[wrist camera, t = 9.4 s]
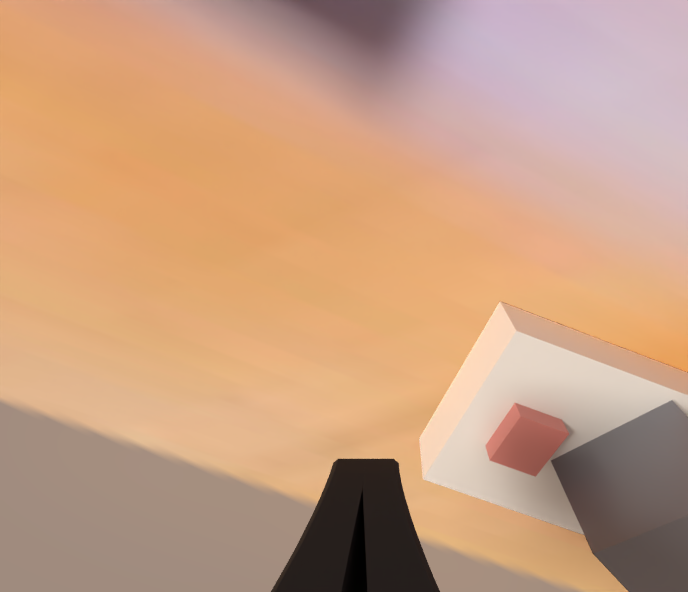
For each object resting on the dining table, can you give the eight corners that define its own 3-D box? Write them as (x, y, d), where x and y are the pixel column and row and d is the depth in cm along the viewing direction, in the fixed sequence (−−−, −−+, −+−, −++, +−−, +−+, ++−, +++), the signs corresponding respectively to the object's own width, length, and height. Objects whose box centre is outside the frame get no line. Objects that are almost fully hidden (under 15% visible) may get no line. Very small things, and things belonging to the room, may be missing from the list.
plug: (642, 369, 18) (756, 487, 12) (708, 457, 19) (834, 597, 14) (535, 427, 19) (592, 553, 14) (603, 503, 21) (679, 644, 16)
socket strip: (904, 454, 19) (1001, 521, 16) (767, 561, 22) (826, 632, 19) (499, 301, 18) (523, 342, 15) (419, 438, 21) (424, 494, 18)
